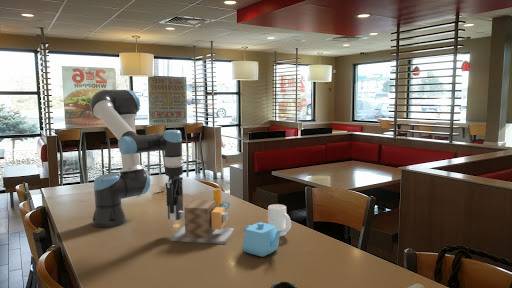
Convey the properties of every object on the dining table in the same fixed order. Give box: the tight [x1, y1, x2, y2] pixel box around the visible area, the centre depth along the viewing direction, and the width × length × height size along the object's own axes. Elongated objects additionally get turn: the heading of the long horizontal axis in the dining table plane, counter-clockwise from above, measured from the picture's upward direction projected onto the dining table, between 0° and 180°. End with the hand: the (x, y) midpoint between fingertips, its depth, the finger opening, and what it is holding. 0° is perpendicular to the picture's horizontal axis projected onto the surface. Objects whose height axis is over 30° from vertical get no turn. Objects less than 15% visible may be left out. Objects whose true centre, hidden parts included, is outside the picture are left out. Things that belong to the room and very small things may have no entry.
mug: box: [267, 203, 292, 237], centre depth 164 cm, size 8×12×12 cm
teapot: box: [242, 221, 284, 258], centre depth 145 cm, size 12×18×12 cm
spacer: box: [211, 206, 226, 230], centre depth 162 cm, size 4×7×7 cm, turn 170°
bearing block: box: [169, 199, 235, 245], centre depth 164 cm, size 24×16×14 cm, turn 80°
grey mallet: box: [167, 194, 229, 222], centre depth 163 cm, size 26×5×10 cm, turn 80°
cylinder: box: [210, 187, 230, 212], centre depth 186 cm, size 12×10×15 cm
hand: (175, 217), depth 166 cm, fingers closed on grey mallet, 5 cm apart
